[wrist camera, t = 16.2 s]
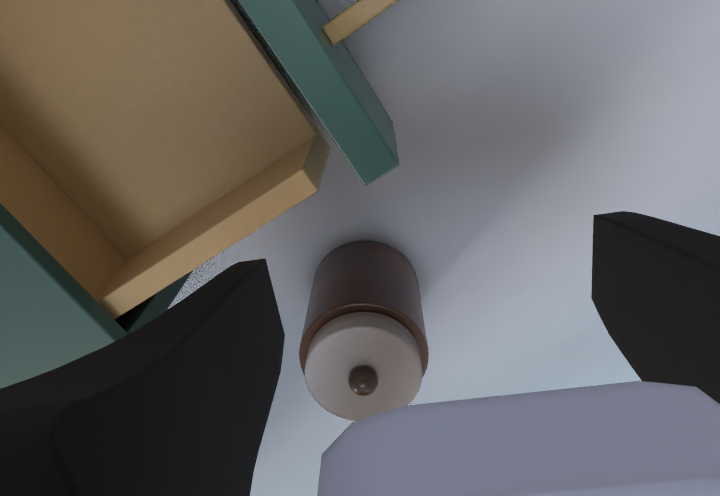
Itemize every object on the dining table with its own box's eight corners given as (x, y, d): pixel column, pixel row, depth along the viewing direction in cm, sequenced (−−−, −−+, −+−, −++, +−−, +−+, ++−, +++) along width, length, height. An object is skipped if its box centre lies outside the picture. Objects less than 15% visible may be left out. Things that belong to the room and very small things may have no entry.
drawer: (269, -347, 15) (217, -522, 10) (488, 62, 19) (529, 86, 14) (-104, 11, 19) (-276, 16, 14) (146, 282, 23) (83, 361, 18)
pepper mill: (312, 327, 25) (291, 438, 19) (315, 236, 23) (293, 326, 17) (411, 334, 25) (425, 447, 19) (423, 243, 23) (442, 336, 17)
